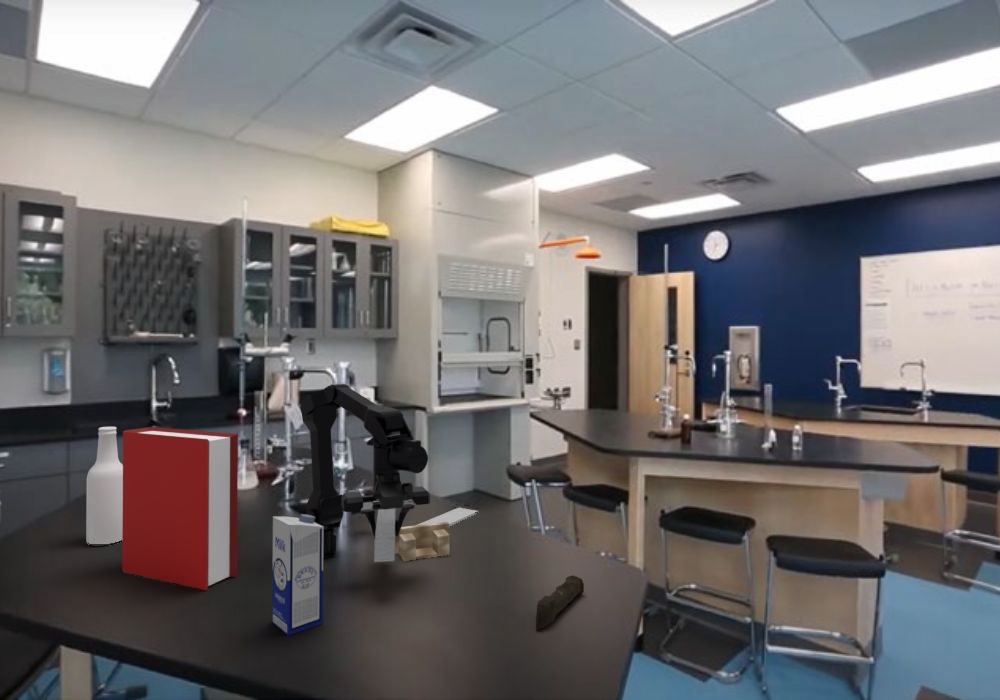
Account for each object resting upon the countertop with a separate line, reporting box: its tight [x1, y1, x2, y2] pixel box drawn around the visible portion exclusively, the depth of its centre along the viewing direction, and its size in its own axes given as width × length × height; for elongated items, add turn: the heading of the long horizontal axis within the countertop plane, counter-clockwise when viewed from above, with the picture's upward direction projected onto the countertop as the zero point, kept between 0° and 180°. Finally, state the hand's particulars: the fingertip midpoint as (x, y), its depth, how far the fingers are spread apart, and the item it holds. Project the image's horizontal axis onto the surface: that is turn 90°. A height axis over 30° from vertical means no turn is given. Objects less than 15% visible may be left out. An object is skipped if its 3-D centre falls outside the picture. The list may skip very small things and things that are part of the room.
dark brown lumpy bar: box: [535, 575, 585, 631], centre depth 113 cm, size 19×4×5 cm, turn 148°
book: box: [121, 426, 239, 591], centre depth 129 cm, size 27×8×32 cm, turn 68°
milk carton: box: [271, 513, 324, 636], centre depth 106 cm, size 7×7×20 cm
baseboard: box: [417, 503, 479, 528], centre depth 167 cm, size 30×3×10 cm
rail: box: [373, 508, 396, 563], centre depth 126 cm, size 4×22×4 cm, turn 10°
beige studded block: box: [395, 522, 451, 562], centre depth 143 cm, size 15×8×6 cm, turn 112°
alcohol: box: [85, 426, 123, 545], centre depth 150 cm, size 9×9×30 cm
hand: (385, 537), depth 126 cm, fingers closed on rail, 4 cm apart
